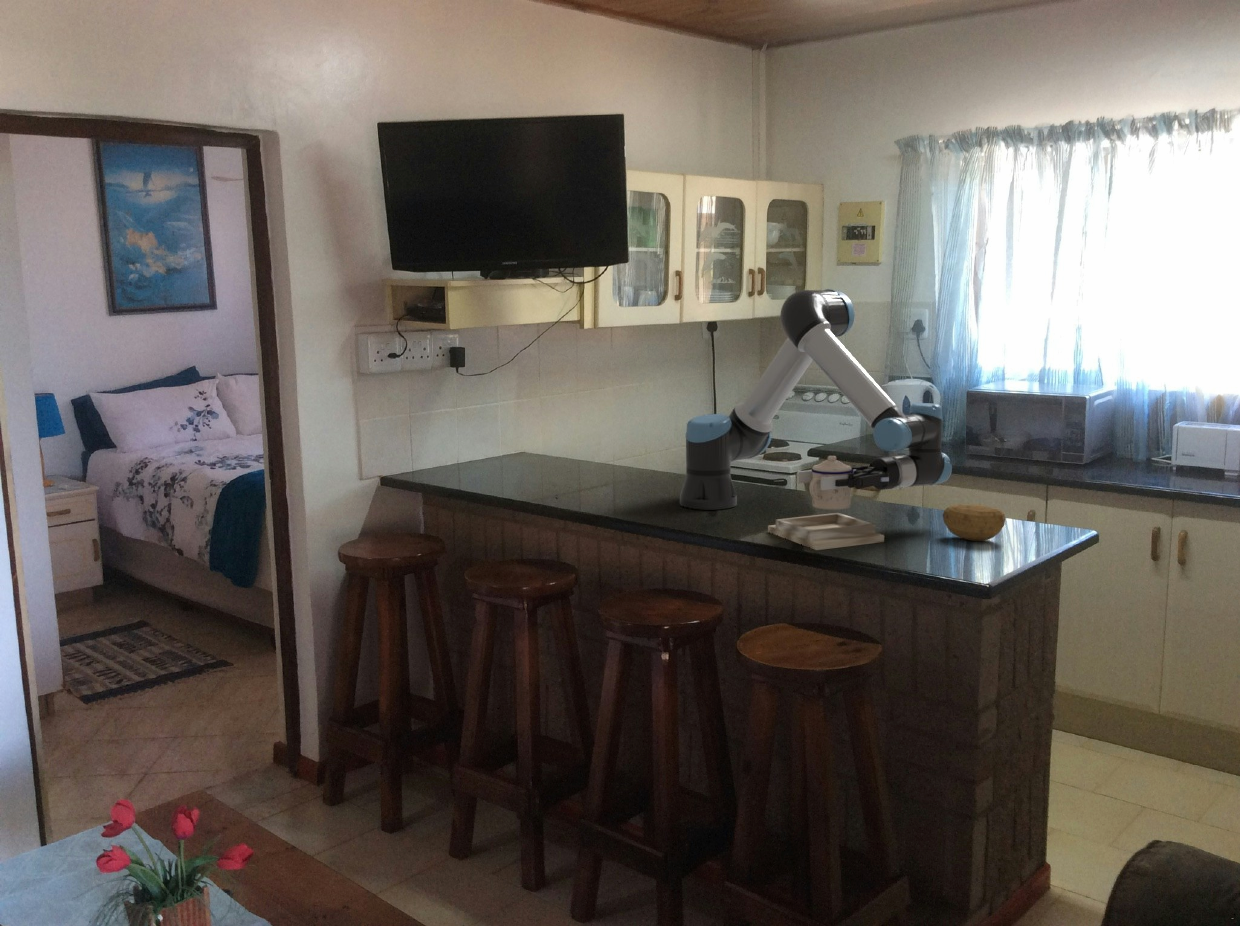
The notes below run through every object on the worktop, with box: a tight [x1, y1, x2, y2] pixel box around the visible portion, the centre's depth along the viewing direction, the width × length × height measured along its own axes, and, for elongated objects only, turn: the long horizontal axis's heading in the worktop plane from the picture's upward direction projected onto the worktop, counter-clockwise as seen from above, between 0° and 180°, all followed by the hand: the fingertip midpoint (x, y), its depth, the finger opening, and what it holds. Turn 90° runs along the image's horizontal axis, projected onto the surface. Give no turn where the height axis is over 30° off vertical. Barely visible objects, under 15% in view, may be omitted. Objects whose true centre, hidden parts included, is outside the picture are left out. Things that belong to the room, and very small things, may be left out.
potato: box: [942, 503, 1006, 542], centre depth 243 cm, size 10×14×8 cm
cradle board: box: [767, 512, 885, 551], centre depth 248 cm, size 20×18×4 cm
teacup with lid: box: [808, 455, 852, 511], centre depth 246 cm, size 12×9×12 cm
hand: (809, 480), depth 244 cm, fingers closed on teacup with lid, 9 cm apart
